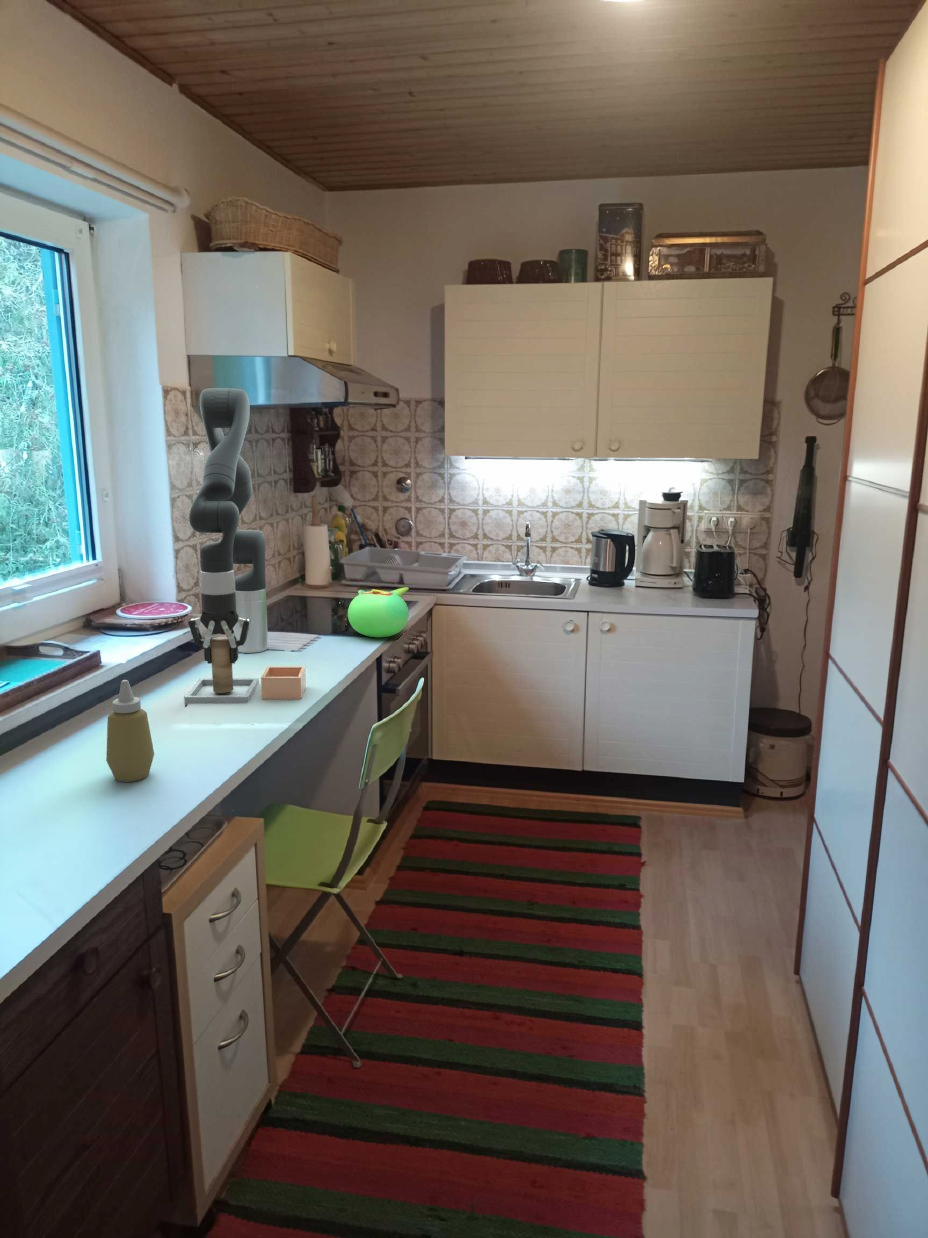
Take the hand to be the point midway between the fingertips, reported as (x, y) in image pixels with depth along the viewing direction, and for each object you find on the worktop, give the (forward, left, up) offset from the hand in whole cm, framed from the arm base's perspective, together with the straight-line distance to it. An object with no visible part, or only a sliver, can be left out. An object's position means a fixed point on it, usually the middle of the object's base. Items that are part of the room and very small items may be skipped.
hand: (221, 662), depth 198 cm
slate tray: (0, 0, -8) cm, 8 cm away
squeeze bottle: (+45, -7, -9) cm, 46 cm away
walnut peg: (0, 0, -7) cm, 7 cm away
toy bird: (-57, +34, -9) cm, 67 cm away
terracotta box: (0, +14, -8) cm, 16 cm away
